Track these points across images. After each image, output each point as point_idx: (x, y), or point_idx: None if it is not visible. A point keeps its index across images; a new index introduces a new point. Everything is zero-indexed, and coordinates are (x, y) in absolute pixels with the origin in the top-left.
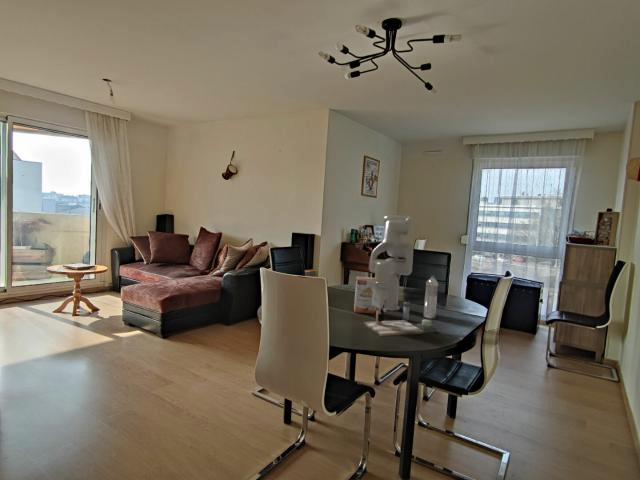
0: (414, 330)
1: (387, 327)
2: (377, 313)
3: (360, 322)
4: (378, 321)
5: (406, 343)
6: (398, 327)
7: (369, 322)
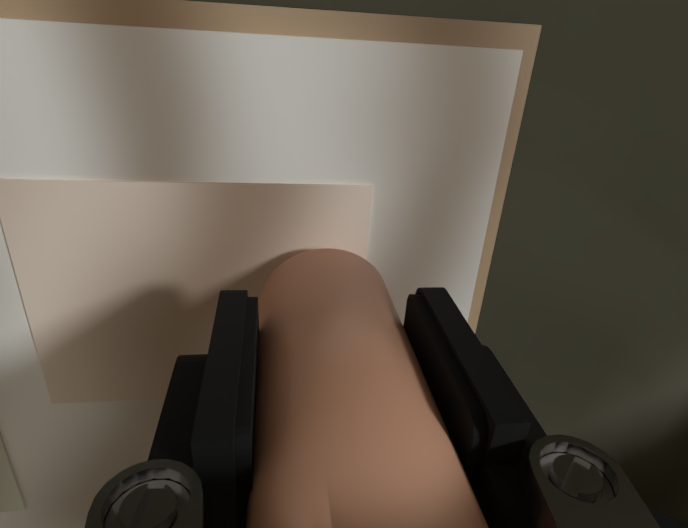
0: None
1: (51, 357)
2: (314, 424)
3: (640, 10)
4: (268, 302)
5: None
6: (75, 518)
7: (455, 147)
